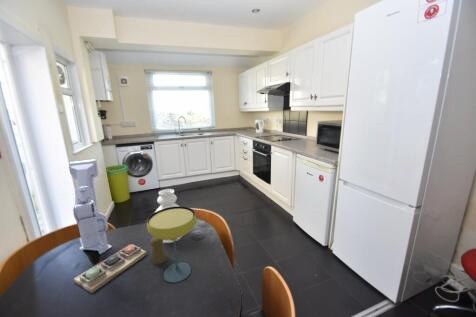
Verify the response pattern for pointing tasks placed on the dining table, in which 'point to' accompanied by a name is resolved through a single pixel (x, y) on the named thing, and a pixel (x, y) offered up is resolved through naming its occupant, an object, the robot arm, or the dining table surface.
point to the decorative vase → (167, 204)
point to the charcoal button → (112, 260)
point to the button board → (110, 269)
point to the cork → (157, 251)
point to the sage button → (92, 273)
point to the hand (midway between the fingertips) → (95, 263)
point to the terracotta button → (129, 249)
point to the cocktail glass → (173, 235)
